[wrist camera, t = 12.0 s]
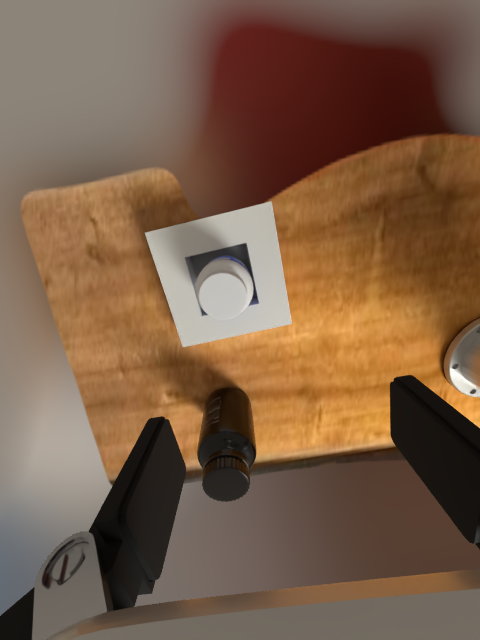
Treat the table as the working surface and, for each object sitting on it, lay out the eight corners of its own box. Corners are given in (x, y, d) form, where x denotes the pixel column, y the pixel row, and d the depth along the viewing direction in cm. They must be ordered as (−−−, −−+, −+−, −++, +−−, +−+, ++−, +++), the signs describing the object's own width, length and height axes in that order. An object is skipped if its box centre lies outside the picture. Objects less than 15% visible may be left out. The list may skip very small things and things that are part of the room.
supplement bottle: (209, 426, 36) (197, 512, 25) (201, 389, 34) (183, 464, 22) (254, 421, 36) (262, 505, 24) (248, 382, 34) (255, 455, 22)
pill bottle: (255, 289, 29) (266, 314, 20) (215, 306, 29) (207, 337, 20) (238, 246, 27) (242, 251, 18) (196, 265, 28) (178, 279, 18)
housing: (267, 206, 26) (271, 201, 23) (285, 314, 30) (291, 323, 27) (155, 233, 27) (144, 232, 24) (188, 335, 31) (183, 347, 28)
